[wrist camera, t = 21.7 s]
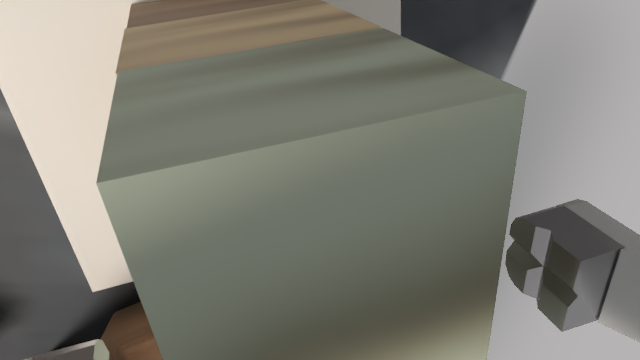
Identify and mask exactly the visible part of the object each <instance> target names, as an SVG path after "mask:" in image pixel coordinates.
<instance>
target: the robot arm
mask: <svg viewBox="0 0 640 360" xmlns="http://www.w3.org/2000/svg"><path fill="white" fill-rule="evenodd" d="M510 235H511V237H512V238H513V240H514V242H513V243H512V245H511V246H510V247H509V249H508V250H507V254H506V267H507V271H508V274H509V277H510V278H511V280H512V281H513V283H514V285H515V286H516V287H517V288H518V289H519V290H520V291H521V292H522V293H524V294H526V295H529V296H531V297H534V298H537V305H538V309H539V310H540V311H542V313H543V314H544V315H545V316H546V317H547V318H548V319H549V320H550V321H551V322H552V323H554V324H555V325H556V326H557V327H558V328H559V329H560V330H561V331H565V330H569V329H572V328H574V327H578V326H581V325H584V324H587V323H590V322H593V321H596V320H598V322H599V323H601V324H603V325H605V326H607V327H609V328H611V329H613V330H616V331H617V332H619V333H621V334H624V335H626V336H628V337H630V338H632V339H634V340H636V341H638V342H640V235H639V234H637V233H636V232H634V231H632V230H631V229H629V228H628V227H626V226H624V225H623V224H621V223H619V222H618V221H617V220H615V219H613V218H612V217H610V216H609V215H607V214H606V213H604V212H602V211H601V210H599V209H598V208H596V207H595V206H593V205H591V204H590V203H588V202H587V201H583V200H579V199H577V200H573V201H570V202H567V203H564V204H560V205H557V206H556V207H551V208H548V209H544V210H541V211H538V212H534V213H531V214H528V215H524V216H521V217H518V218H515V220H514V221H513V223H512V224H511V228H510ZM24 360H109V351H108V349H107V348H106V346H105V344H104V342H103V340H100V339H96V340H92V341H88V342H85V343H81V344H77V345H73V346H70V347H66V348H62V349H58V350H55V351H51V352H47V353H43V354H39V355H36V356H34V357H31V358H27V359H24Z"/></svg>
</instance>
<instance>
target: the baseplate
mask: <svg viewBox="0 0 640 360" xmlns="http://www.w3.org/2000/svg"><path fill="white" fill-rule="evenodd" d="M151 1H159V0H0V88H1V90H2V93H3V95H4V97H5V99H6V102H7V104H8V106H9V108H10V110H11V113H12V115H13V117H14V119H15V121H16V124H17V126H18V128H19V130H20V132H21V135H22V137H23V139H24V141H25V144H26V146H27V148H28V150H29V152H30V155H31V157H32V159H33V161H34V163H35V166H36V168H37V170H38V172H39V174H40V177H41V179H42V181H43V183H44V186H45V188H46V190H47V192H48V194H49V197H50V199H51V201H52V203H53V205H54V208H55V210H56V212H57V214H58V216H59V219H60V221H61V223H62V225H63V228H64V230H65V232H66V234H67V236H68V239H69V241H70V243H71V245H72V247H73V250H74V252H75V254H76V256H77V258H78V261H79V263H80V265H81V267H82V270H83V272H84V274H85V276H86V278H87V281H88V283H89V285H90V287H91V289H92V292H95V291H99V290H103V289H106V288H110V287H114V286H118V285H121V284H125V283H129V282H133V279H132V277H131V274H130V271H129V269H128V266H127V263H126V261H125V258H124V255H123V253H122V250H121V248H120V245H119V242H118V240H117V237H116V234H115V232H114V229H113V226H112V224H111V221H110V218H109V216H108V213H107V211H106V208H105V205H104V203H103V200H102V197H101V195H100V192H99V189H98V187H97V184H96V182H97V176H98V171H99V166H100V161H101V156H102V151H103V146H104V140H105V135H106V130H107V125H108V120H109V115H110V109H111V104H112V99H113V94H114V89H115V84H116V78H117V77H116V74H115V73H116V69H117V64H118V59H119V54H120V49H121V44H122V40H123V35H124V30H125V28H127V23H128V18H129V13H130V8H131V4H137V3H144V2H151ZM322 1H324V2H326V3H329V4H331V5H333V6H336V7H338V8H340V9H342V10H345V11H347V12H349V13H351V14H354V15H356V16H358V17H361V18H363V19H365V20H367V21H370V22H372V23H374V24H376V25H379V26H381V28H385V29H387V30H389V31H391V32H394V33H396V34H398V35H400V36H401V0H322Z"/></svg>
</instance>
